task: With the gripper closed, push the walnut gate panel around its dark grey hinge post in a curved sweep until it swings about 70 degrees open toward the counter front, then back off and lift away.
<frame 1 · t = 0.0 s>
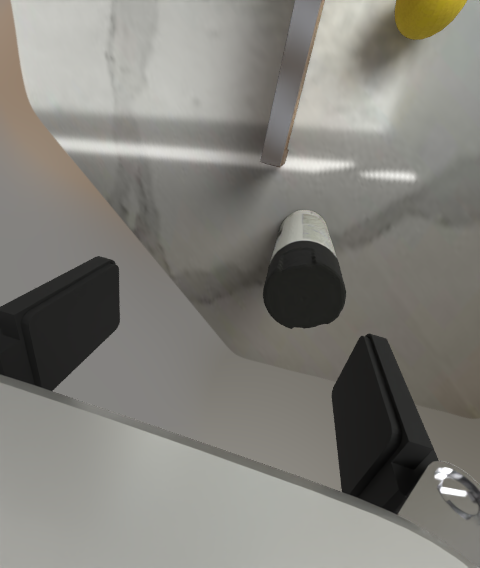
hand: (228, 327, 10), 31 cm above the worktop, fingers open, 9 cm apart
lemon: (414, 16, 28), on the worktop
spray can: (303, 231, 39), on the worktop
gate: (299, 54, 27), point 5 cm above the worktop, hinge at 0.0°
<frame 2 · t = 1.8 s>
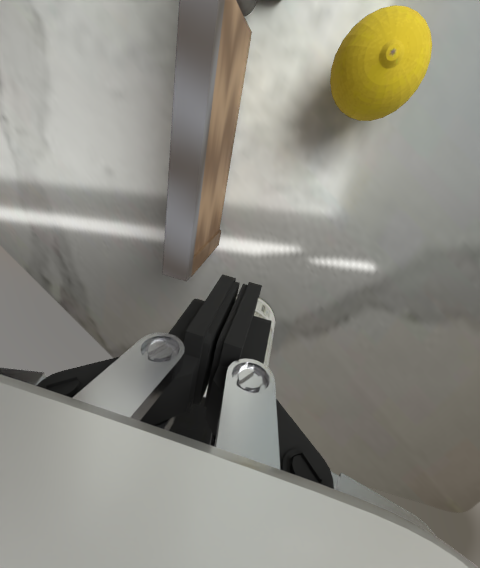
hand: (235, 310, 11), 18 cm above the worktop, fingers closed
lemon: (363, 82, 21), on the worktop
spray can: (249, 315, 33), on the worktop
gate: (208, 138, 20), point 5 cm above the worktop, hinge at 0.0°
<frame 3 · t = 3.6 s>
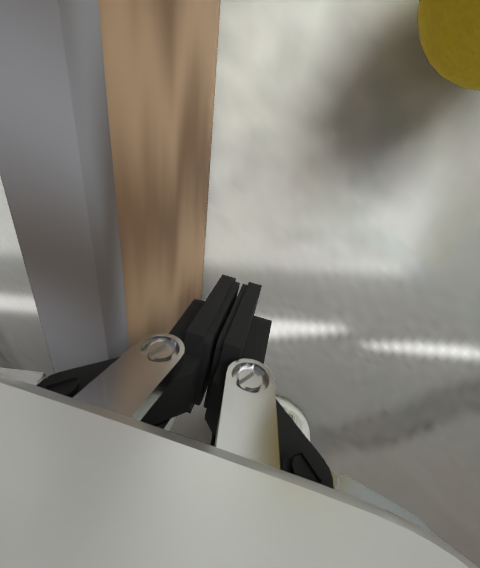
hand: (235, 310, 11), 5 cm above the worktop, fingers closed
lemon: (469, 18, 10), on the worktop
spray can: (267, 418, 22), on the worktop
gate: (146, 168, 9), point 5 cm above the worktop, hinge at 1.5°, touching gripper
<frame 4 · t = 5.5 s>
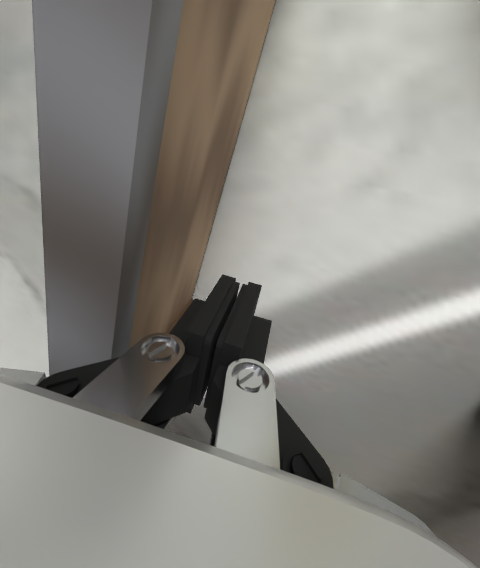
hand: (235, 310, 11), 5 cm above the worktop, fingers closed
gate: (174, 164, 9), point 5 cm above the worktop, hinge at 43.6°, touching gripper
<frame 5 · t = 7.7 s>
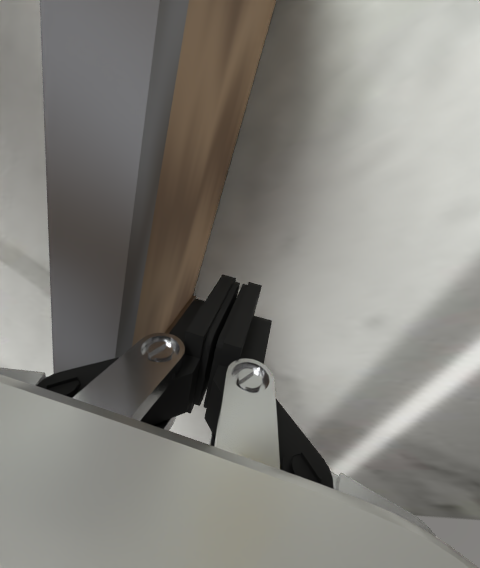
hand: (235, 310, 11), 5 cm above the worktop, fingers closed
gate: (177, 158, 9), point 5 cm above the worktop, hinge at 78.4°, touching gripper
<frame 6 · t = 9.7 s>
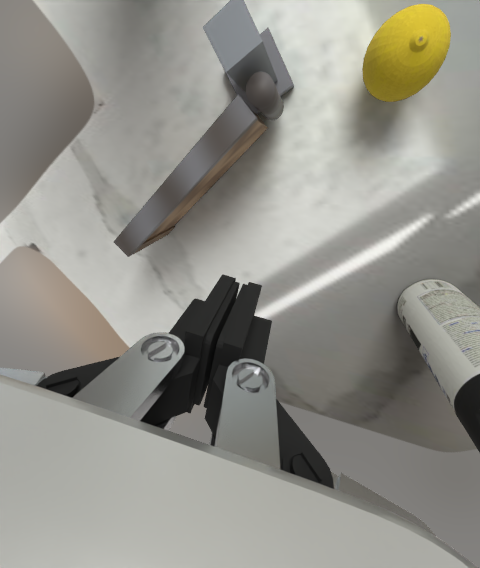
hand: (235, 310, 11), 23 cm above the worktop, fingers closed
lemon: (387, 72, 25), on the worktop
spray can: (426, 301, 33), on the worktop
gate: (199, 176, 27), point 5 cm above the worktop, hinge at 78.6°
gate post: (274, 110, 28), on the worktop
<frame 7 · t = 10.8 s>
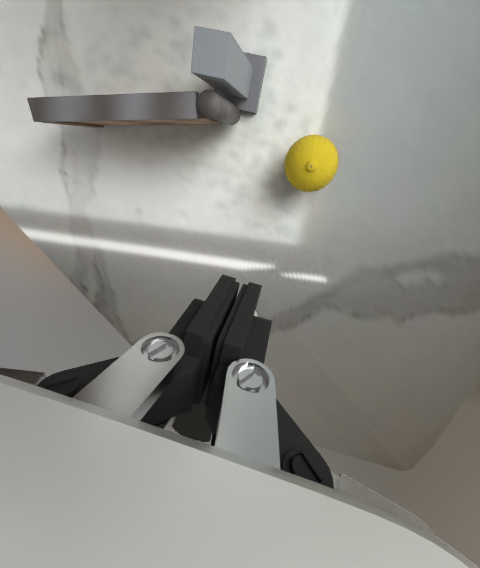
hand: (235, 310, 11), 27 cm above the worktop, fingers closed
lemon: (310, 162, 33), on the worktop
spray can: (239, 314, 44), on the worktop
gate: (142, 112, 29), point 5 cm above the worktop, hinge at 78.6°
gate post: (234, 115, 32), on the worktop
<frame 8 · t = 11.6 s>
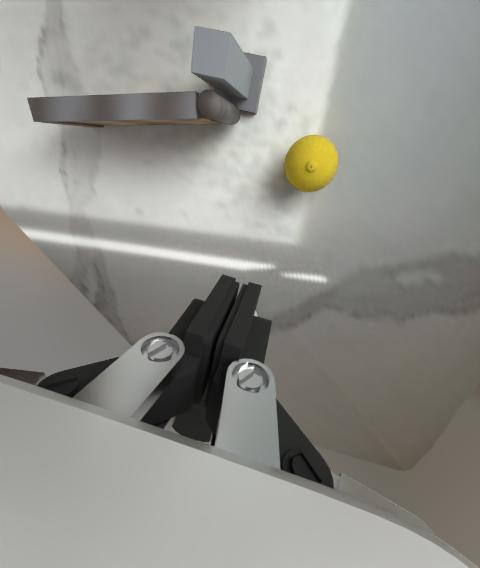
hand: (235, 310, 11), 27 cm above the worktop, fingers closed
lemon: (310, 162, 33), on the worktop
spray can: (239, 314, 44), on the worktop
gate: (142, 112, 29), point 5 cm above the worktop, hinge at 78.6°
gate post: (234, 115, 32), on the worktop
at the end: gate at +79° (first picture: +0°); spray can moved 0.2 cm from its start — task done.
